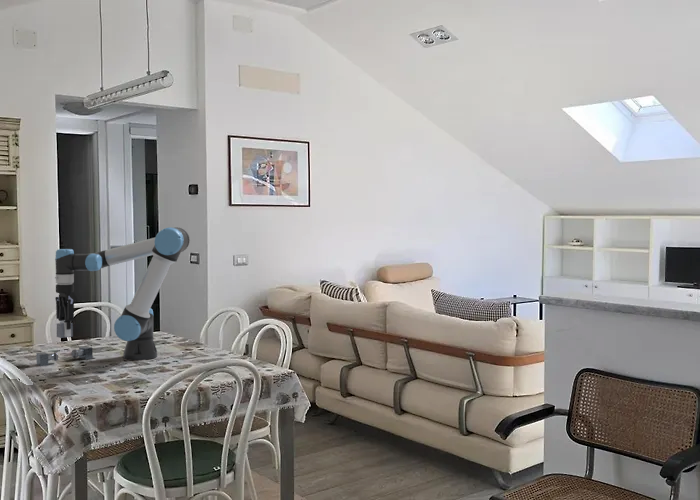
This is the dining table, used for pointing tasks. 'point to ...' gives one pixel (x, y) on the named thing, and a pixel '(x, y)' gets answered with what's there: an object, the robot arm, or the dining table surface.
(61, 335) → the block
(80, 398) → the dining table surface
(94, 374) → the dining table surface
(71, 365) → the dining table surface
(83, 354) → the shaft
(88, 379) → the dining table surface
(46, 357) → the shaft
